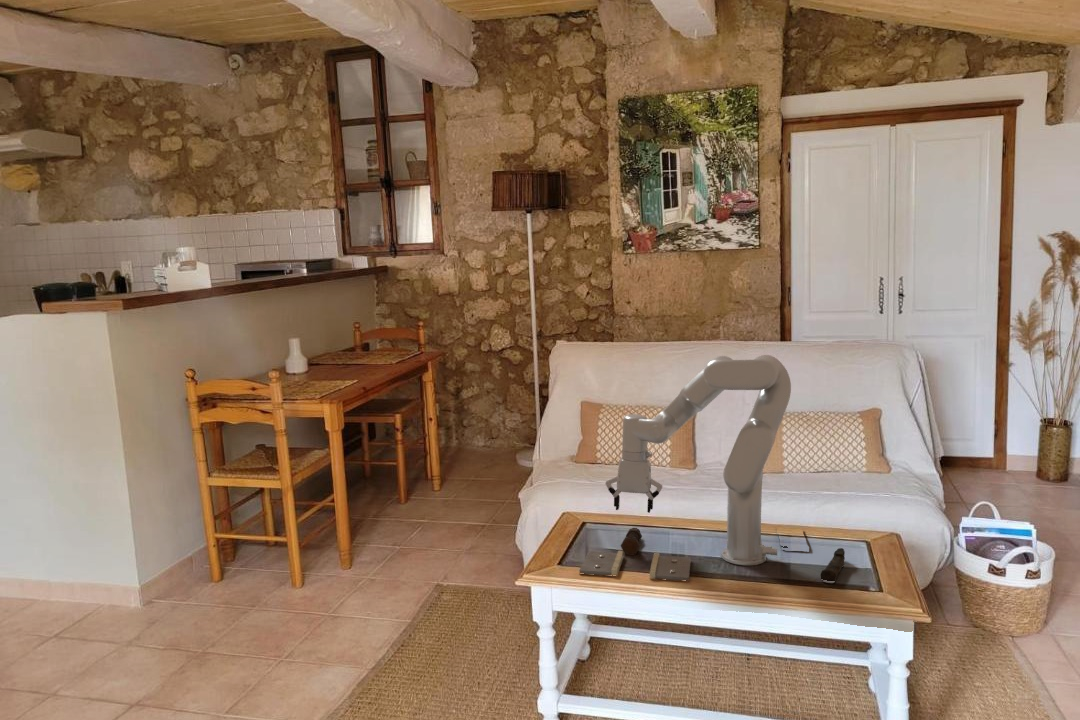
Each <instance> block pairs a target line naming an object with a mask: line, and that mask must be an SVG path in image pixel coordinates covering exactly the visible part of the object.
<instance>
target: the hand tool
mask: <svg viewBox="0 0 1080 720" xmlns="http://www.w3.org/2000/svg"><path fill="white" fill-rule="evenodd" d="M843 565H845V549H844V548H841V547H839V548H837V549H836V550H835V551H833V557H832V559H831V560H830V561H829V563H828V564H827V565H826V566H825V569H824V570H821V573H820V580H821V579H823V580H827V581H835V582H836V581H837V577H838V575H839V574H840V571H841V570H842V569H843V568H842V566H843ZM843 567H844V566H843Z"/></svg>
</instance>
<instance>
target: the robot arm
mask: <svg viewBox="0 0 1080 720" xmlns="http://www.w3.org/2000/svg"><path fill="white" fill-rule="evenodd" d="M725 390H726V391H759V392H758V394H757V397H756V400H755V402H754V405H753V408H752V410H751V412H750V415H749V417H748V419H747V421H746V422H745V424H744V425H743V427H742V428H741V429H740V431H739V433H738V435H737V437H736V440H735V442H734V445H733V447H732V449H731V452H730V454H729V457H728V458H727V462H726V464H725V466H724V469H723V474H722V475H723V482H724V483H725V485H726V486H727V504H726V505H727V507H726V509H727V510H726V514H727V516H726V518H727V519H726V520H727V521H726V522H727V523H726V525H727V527H726V528H727V529H726V540H727V541H726V548H724V549H723V550H722V551H721V558H722V559H723V560H724V561H726V562H727V563H731V564H733V565H738V566H757V565H760V564H763V563H765V562H766V560H767V555H770V556H778V548H773V546H772V545H764V544H763V542H762V539H761V538H762V493H763V492H762V491H763V490H762V489H763V477H764V476H763V475H764V468H765V466H766V463H767V460H768V458H769V456H770V453H771V451H772V448H773V446H774V444H775V442H776V438H777V437H776V436H777V433H778V431H779V428H780V425H781V424H782V421H783V418H784V415H785V412H786V410H787V408H788V405H789V402H790V398H791V393H792V392H791V391H792V383H791V378H790V375H789V372H788V370H787V368H786V367H785V365H783V363H782V362H781V361H780V360H779V359H778V358H776V357H775V356H774V355H770V354H762V355H761V354H760V355H759V356H757V357H755V358H753V359H733V358H731V357H729V356H727V355H719V356H717V357H714V358H713V359H712V360H710V361H709V362H708V363H707V364H706V365H705V366H704V368H703V369H701V370H700V371H699V372H698V373H697V374H696V375H695V376H694V377H693V378H692V379H691V380H689V382H687V383H686V384H685V385H684V386H683V387H682V389H681V390H680V392H679V393H678V394H677V396H676V397H675V398H674V399H673V400H672V401H671V402H670V403H669V404H668V405H667V406H666V407H665V408H664V409H663V410H662V411H660V412H659V413H658V414H657V415H655V417H653V418H648V417H647V416H645V415H643V414H639V413H638V414H636V413H635V414H632V413H631V414H626V415H625V416H624V417H623V419H622V442H621V443H622V444H621V445H622V446H621V447H622V450H621V452H622V453H621V455H622V456H621V457H620V458H619V461H618V469H617V476H615V477H612V478H610V479H608V480H606V481H605V486H606V488H607V490H608V492H609V493H610V494H611V495H612V497H613V506H614V507H615V511H619V510H620V502H621V501H620V494H621V493H631V494H642V495H643V494H645V495H646V496H647V498H648V499H647V511H646V512H647V513H650V512H651V510H653V508H654V499H655V498H656V497H658V496H659V495H660V493H661V491H662V489H663V484H662V483H660V482H659V481H658V482H657V481H656V480H655V479H653V478H652V469H651V468H652V467H651V461H650V459H649V458H652V457H653V452H649V450H648V443H651V444H663V443H666V442H667V441H668V440H669V439H670V438H671V437H672V436H673V435H674V434H675V433H677V431H678V430H680V429H681V428H682V427H683V426H684V425H685V424H686V423H687V422H688V421H690V419H692V417H694V416H695V415H696V414H697V413H699V412H702V411H703V410H704V409H705V408H706V407H707V406H709V405H710V404H711V403H712V402H713V401H714V400H715V399H716V398H718V396H719V395H721V393H723V392H724V391H725ZM615 483H616V489H615V488H614V487H613V486H612V485H613V484H615ZM652 486H653V487H655V488H656V489H655V491H653V492H652V490H651V489H652Z"/></svg>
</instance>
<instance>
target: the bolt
mask: <svg viewBox="0 0 1080 720" xmlns="http://www.w3.org/2000/svg"><path fill="white" fill-rule="evenodd" d="M642 538H643V535H642V532H641V531H640V529H639V528H637V527H632V528H629V529H628V531H627V533H626V535H625V537H624V539H623V540H622V542H621V543H620V547H621V551H623V554H625V555H636V554H637V553H638V552H639V550H640V548H641V544H640V540H641V539H642Z"/></svg>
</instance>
